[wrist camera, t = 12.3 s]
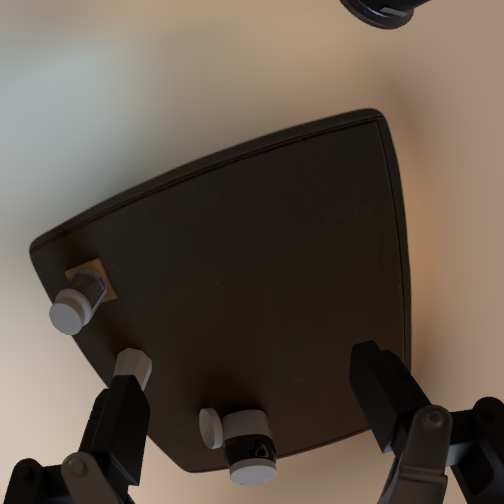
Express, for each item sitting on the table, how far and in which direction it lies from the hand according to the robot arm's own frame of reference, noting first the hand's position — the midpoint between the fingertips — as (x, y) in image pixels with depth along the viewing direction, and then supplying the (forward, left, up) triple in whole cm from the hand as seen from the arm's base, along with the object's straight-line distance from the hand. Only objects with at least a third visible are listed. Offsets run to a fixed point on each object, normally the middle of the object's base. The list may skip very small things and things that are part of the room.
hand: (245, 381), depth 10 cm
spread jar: (+33, -4, -26) cm, 43 cm away
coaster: (+5, -18, -26) cm, 32 cm away
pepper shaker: (+18, -16, -26) cm, 36 cm away
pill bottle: (+5, -18, -25) cm, 32 cm away
